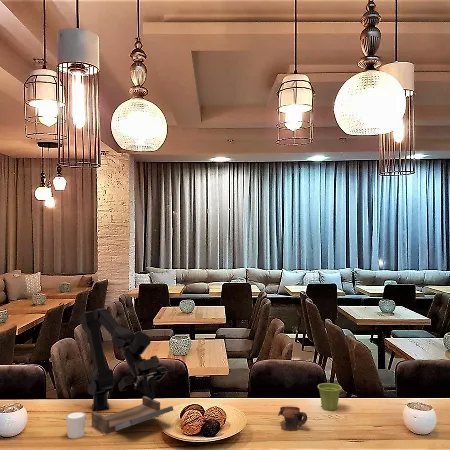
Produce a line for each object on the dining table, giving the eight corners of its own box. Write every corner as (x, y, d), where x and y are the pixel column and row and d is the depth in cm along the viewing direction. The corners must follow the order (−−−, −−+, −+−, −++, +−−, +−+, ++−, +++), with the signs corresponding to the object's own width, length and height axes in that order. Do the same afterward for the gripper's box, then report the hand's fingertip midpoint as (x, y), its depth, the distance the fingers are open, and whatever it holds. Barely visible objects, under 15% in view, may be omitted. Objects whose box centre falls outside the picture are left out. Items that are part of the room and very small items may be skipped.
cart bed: (91, 426, 182) (91, 412, 182) (144, 408, 199) (144, 396, 199) (106, 434, 175) (106, 420, 175) (160, 415, 192) (160, 402, 192)
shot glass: (80, 439, 171) (80, 419, 171) (61, 438, 172) (61, 418, 172) (89, 431, 178) (89, 412, 177) (71, 430, 179) (71, 410, 179)
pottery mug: (273, 429, 180) (273, 406, 184) (286, 433, 186) (285, 410, 190) (302, 428, 173) (302, 404, 178) (314, 432, 180) (314, 408, 184)
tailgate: (114, 426, 177) (131, 419, 170) (154, 412, 190) (172, 405, 182) (115, 431, 177) (132, 424, 169) (155, 416, 189) (173, 410, 182)
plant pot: (323, 402, 206) (323, 381, 206) (345, 407, 200) (345, 385, 200) (313, 409, 198) (313, 387, 198) (335, 414, 192) (335, 392, 192)
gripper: (122, 354, 172) (141, 393, 165) (164, 344, 186) (183, 380, 178) (110, 371, 178) (127, 410, 170) (151, 361, 191) (169, 396, 184)
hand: (153, 399), depth 176 cm, fingers closed
